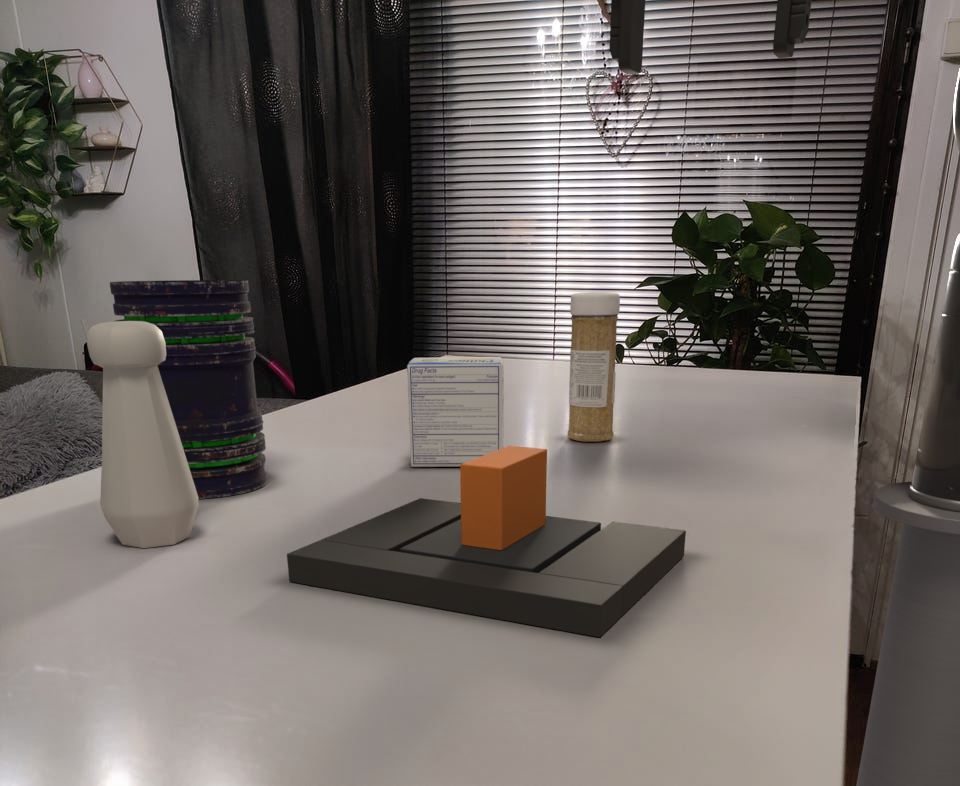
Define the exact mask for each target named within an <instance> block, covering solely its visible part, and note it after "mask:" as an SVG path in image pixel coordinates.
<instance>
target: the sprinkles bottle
mask: <svg viewBox="0 0 960 786" xmlns="http://www.w3.org/2000/svg"><path fill="white" fill-rule="evenodd" d="M620 306H621V295H620V294H619V293H617V292H611V291H585V292H583V291H582V292H576V293H572V294H571V295H570V308H569V313H570V315H571V317H570V319H571V338H570V339H571V341H570V342H571V343H570V355H569V356H570V357H569V383H568V384H569V386H568V387H569V389H568V405H569V406H568V407H569V409H568V412H569V413H568V414H569V415H568V430H567V437H568V438H569V439H571V440H574V441H578V442H583V443H584V442H585V443H589V442H590V443H591V442H592V443H593V442H594V443H595V442H598V443H601V442H606V441H610V440H611V439H612V438H614V431H613V423H614V404H615V397H616V374H617V373H616V358H617V357H616V356H617V351H616V350H617V333H618V332H617V330H618V329H617V324H618V319H619V316H618V315H619V314H620V310H621V309H620V308H621V307H620Z"/></svg>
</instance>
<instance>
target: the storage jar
mask: <svg viewBox="0 0 960 786" xmlns="http://www.w3.org/2000/svg"><path fill="white" fill-rule="evenodd" d="M109 288H110V294H111V295H113V301H114V303H113V304H112V308H113V314H114V316H121V317H123V318H122V319H115V320H113V322H115V321H143V322H148V323H151V324H154V325H156V326H157V327H158V328H159V329H160V330H161V331H162V333H163V337H164V340H165V344H166V359H165V361H163V362H162V363H160V364H158V365H157V366H158V369H159V372H160V375H161V379H162V382H163V385H164V388H165V392H166V395H167V398H168V401H169V404H170V408H171V411H172V414H173V417H174V421H175V424H176V427H177V430H178V433H179V437H180V440H181V443H182V446H183V449H184V453H185V456H186V459H187V462H188V466H189V469H190V472H191V475H192V478H193V482H194V485H195V488H196V491H197V495H198V500H202V499H203V500H204V499H215V498H223V497H230V496H237V495H241V494H246V493H249V492H253V491H256V490H259V489H261V488H263V487H265V486H266V485H267V484H268V473H267V472H266V470H265V463H266V461H267V459H266V455H265V454H264V453H263V452H265V451H266V449H267V446H266V435H265V433H263V430H264V420H263V414H262V412H261V411H260V409H259V407H258V401H257V400H258V399H257V390H256V389H257V388H256V381H255V379H256V378H255V369H254V361H255V359H256V357H257V355H256V354H257V353H256V349H257V347H256V344H255V338H254V337H252V336H246V335H252V334H254V333H255V330H254V329H255V323H254V317H251V316H244V314H248V313H251V312H252V307H251V301H250V300H249V297H248V293H249V292H250V287H249V280H247V279H204V280H203V279H200V280H199V279H196V280H195V279H191V280H188V279H187V280H185V279H183V280H181V279H180V280H179V279H177V280H127V281H125V280H123V281H122V280H121V281H109Z"/></svg>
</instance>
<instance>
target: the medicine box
mask: <svg viewBox="0 0 960 786" xmlns="http://www.w3.org/2000/svg"><path fill="white" fill-rule="evenodd" d="M504 371H505V370H504V359H503V358H502V357H501V356H443V357H442V356H439V357H433V356H432V357H413V358H412V359H411V360H409V362H408V364H407V365H406V372H407V393H408V421H409V422H408V423H409V441H410V444H409V445H410V466H411V467H412V468H423V467H424V468H438V467H440V468H442V467H445V468H446V467H447V468H448V467H449V468H450V467H451V468H453V467H455V468H456V467H458V468H460V465H461V464H463V463H466V462H468V461H471V460H473V459H476V458H479V457H481V456H484V455H486V454H489V453H492V452H494V451H497V450H499V449H502V448H505V444H504V443H505V433H504V431H505V426H504V425H505V380H504V379H505V377H504V376H505V375H504Z"/></svg>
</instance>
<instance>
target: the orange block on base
mask: <svg viewBox="0 0 960 786" xmlns="http://www.w3.org/2000/svg"><path fill="white" fill-rule="evenodd" d="M459 470H460V471H459V473H460V474H459V475H460V476H459V477H460V478H459V479H460V480H459V481H460V482H459V483H460V503H461V519H460V520H458V521H456V522H454V523H452V524H450V525H448V526H446V527H443V528H441V529H439V530H437V531H435V532H433V533H431V534H429V535H427V536H425V537H423V538H421V539H419V540H417V541H415V542H413V543H411V544H409V545H407V546H404V547H402V548H400V552H402V553H409V554H415V555H422V556H428V557H435V558H441V559H448V560H455V561H461V562H468V563H474V564H481V565H487V566H494V567H500V568H507V569H514V570H520V571H527V572H533V573H539V572H541V571H542V570H544V569H545V568H547V567H548V566H550V565H551V564H552V563H554V562H555V561H557V560H558V559H560V558H561V557H562V556H564V555H565V554H567V553H568V552H570V551H571V550H573V549H574V548H575V547H577V546H578V545H580V544H581V543H583V542H584V541H586V540H587V539H588V538H590V537H591V536H593V535H594V534H596V533H597V532H599V531H600V530H601V529H602V523H601V522H599V521H592V520H591V521H590V520H583V519H575V518H568V517H567V518H566V517H557V516H551V515H550V516H549V515H547V476H548V474H547V472H548V449H547V448H539V447H527V446H515V445H507V446H504V448H502V449H499V450H497V451H494V452H492V453H489V454H486V455H484V456H481V457H479V458H476V459H473V460H471V461H468V462H466V463H463V464H461V465H460V467H459Z"/></svg>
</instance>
